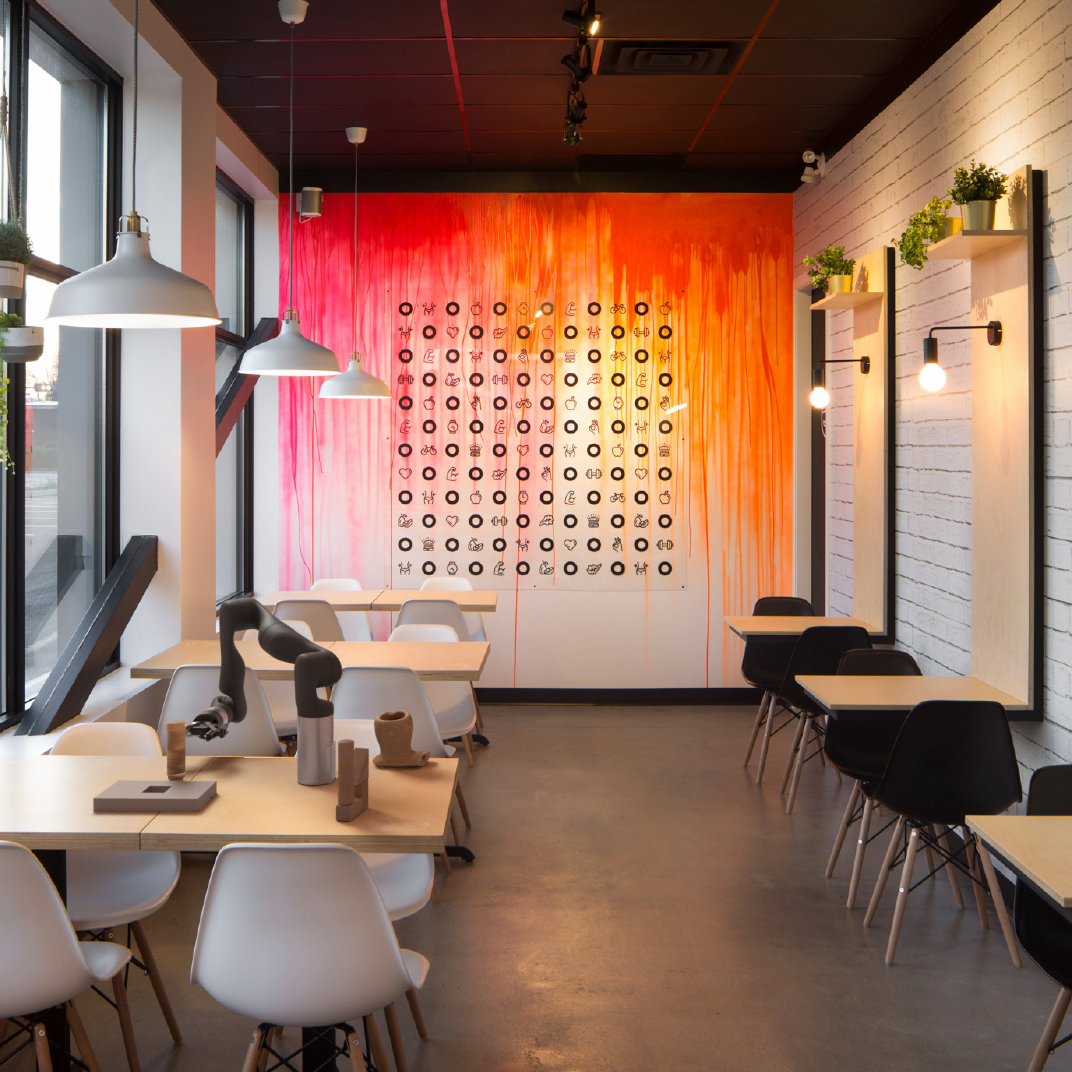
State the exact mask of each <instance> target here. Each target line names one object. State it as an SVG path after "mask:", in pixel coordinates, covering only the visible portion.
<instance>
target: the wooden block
mask: <svg viewBox="0 0 1072 1072" xmlns="http://www.w3.org/2000/svg"><path fill="white" fill-rule="evenodd" d="M337 742H338V743H337V759H338V760H337V761H338V762H337V804H336V805H335V821H337V820H339V822H347V821H348V823H349V822H351V821H353V820H354V819H355V818H356V817H358V816H359V815H360V814H361V812H362V813H363V812H364V811H366V810H367V809H368V808H369V778H370V775H369V774H370V769H369V768H370V755H369V754H370V752H369V751H370V749H369V748H366V747H364V748H363V747H355V741H354V740H353V739H346V738H345V739H341V740H339V741H337ZM366 808H367V809H366ZM365 809H366V810H365ZM352 819H353V820H352Z"/></svg>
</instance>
